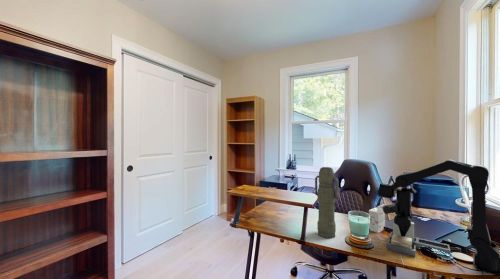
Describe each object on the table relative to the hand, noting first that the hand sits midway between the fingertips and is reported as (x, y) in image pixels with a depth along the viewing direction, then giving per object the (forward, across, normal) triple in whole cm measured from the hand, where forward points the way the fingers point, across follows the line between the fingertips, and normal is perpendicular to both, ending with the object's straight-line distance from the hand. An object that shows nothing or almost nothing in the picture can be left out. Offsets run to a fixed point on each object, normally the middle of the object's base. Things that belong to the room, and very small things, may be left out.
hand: (403, 233), depth 104 cm
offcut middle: (+2, +9, 0) cm, 9 cm away
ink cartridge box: (+5, -9, -12) cm, 16 cm away
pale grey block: (+4, 0, 0) cm, 4 cm away
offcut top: (0, +9, 0) cm, 9 cm away
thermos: (+5, +12, -32) cm, 35 cm away
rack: (+5, +4, +6) cm, 8 cm away
